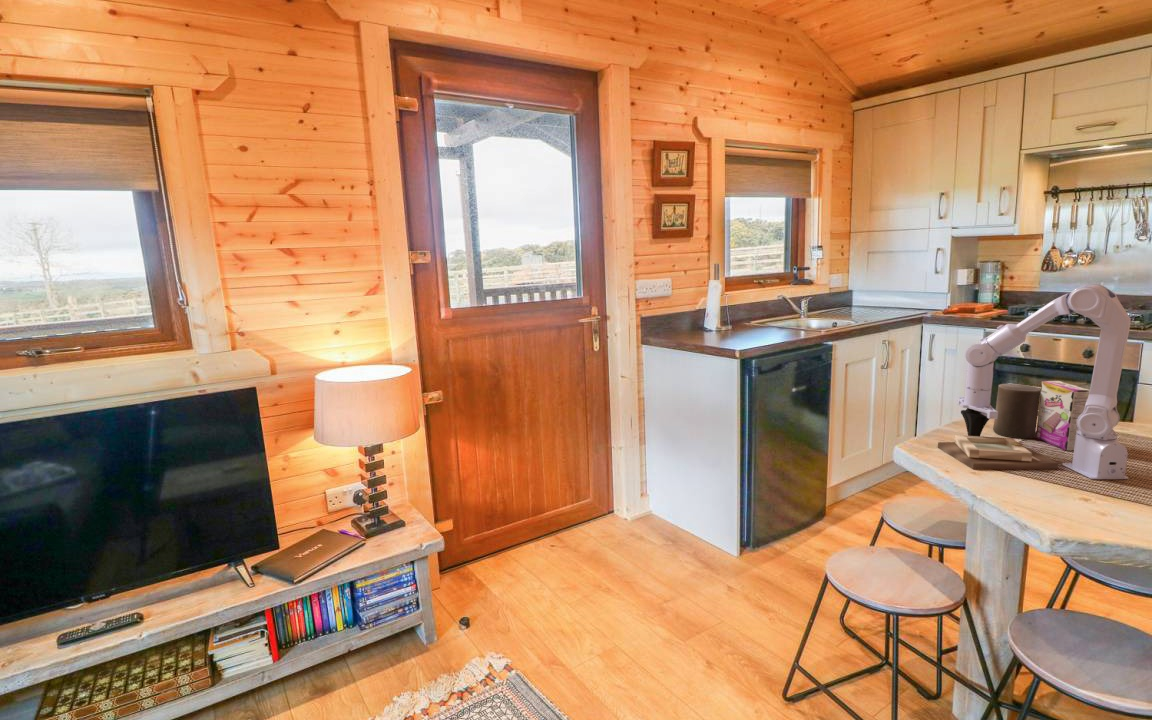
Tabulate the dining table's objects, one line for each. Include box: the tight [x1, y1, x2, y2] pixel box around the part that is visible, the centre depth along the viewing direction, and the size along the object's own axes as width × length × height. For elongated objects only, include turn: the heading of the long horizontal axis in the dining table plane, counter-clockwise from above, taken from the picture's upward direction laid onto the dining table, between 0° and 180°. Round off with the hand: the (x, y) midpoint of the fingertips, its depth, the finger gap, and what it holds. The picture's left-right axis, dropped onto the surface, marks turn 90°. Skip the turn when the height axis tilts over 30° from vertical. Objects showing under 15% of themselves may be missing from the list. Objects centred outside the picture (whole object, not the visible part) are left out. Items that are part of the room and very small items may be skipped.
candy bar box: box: [1035, 380, 1090, 452], centre depth 156 cm, size 11×5×16 cm, turn 178°
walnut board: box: [937, 441, 1059, 470], centre depth 149 cm, size 16×20×2 cm
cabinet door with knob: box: [954, 434, 1032, 461], centre depth 149 cm, size 12×13×2 cm
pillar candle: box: [992, 382, 1041, 440], centre depth 166 cm, size 10×10×15 cm
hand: (973, 437), depth 157 cm, fingers closed
